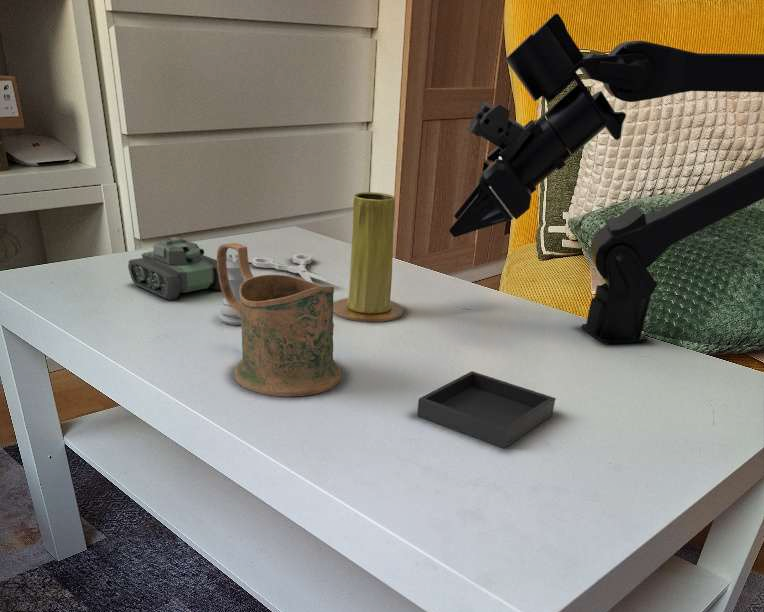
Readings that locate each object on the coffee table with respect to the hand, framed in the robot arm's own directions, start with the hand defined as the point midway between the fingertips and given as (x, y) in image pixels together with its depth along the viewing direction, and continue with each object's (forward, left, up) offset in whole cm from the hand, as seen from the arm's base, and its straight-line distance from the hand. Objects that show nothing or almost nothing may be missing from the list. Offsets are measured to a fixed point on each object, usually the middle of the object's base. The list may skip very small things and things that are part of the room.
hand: (454, 226), depth 93 cm
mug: (+26, +13, -12) cm, 31 cm away
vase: (+9, -5, -12) cm, 16 cm away
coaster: (+10, -5, -12) cm, 16 cm away
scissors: (+16, -23, -12) cm, 30 cm away
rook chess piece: (+28, -3, -12) cm, 30 cm away
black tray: (+7, +29, -12) cm, 32 cm away
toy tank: (+34, -18, -12) cm, 40 cm away
